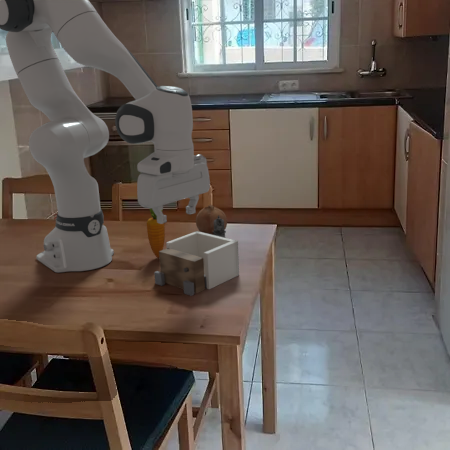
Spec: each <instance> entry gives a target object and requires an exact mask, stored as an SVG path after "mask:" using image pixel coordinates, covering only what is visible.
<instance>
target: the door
mask: <svg viewBox="0 0 450 450" xmlns="http://www.w3.org/2000/svg"><path fill="white" fill-rule="evenodd" d="M158 259H159V270H160V271H159V272H162V273H164V280H165V284H168V285H169V286H173V287H176V288H179V289H182V290H184V285H183V281H186V280H187V281H190V282H193V283H194V294H198V293H200V292H202V291H204V290H206V288H205V280H204V261H203V258H202V257H198V256H195V255H191V254H188V253H184V252H180V251H177V250H173V249H170V248H167V247H166V248H163V250H161V251H159V258H158Z"/></svg>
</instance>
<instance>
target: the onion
mask: <svg viewBox="0 0 450 450" xmlns="http://www.w3.org/2000/svg"><path fill="white" fill-rule="evenodd" d="M218 216H220V219H223V220H224V230H225V231H226V228H227V227H228V226H227V224H228V219H227V215H226V214H225V212H224V211H223V210H222V209H220V208H218V207H217V206H214V205H212V204H211V203H210V204H209V205H208V206H205V207H203V208H202V209H201V210H199V212H198V213H197V215H196V217H195V225H196V228H197V231H199V232H203V233H207V234H211V235H214V234H213V231H214V220H216V219H217V218H218Z"/></svg>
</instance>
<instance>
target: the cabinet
mask: <svg viewBox="0 0 450 450" xmlns="http://www.w3.org/2000/svg"><path fill="white" fill-rule="evenodd" d="M165 244H166V245H165V246H166V249H167V248H170V249H173V250H177V251H180V252H184V253H188V254H191V255H195V256H198V257H202V258H203V261H204V280H205V290H211V289H213V288H215V287H217V286H219V285H221V284H223V283H226V282H228V281H229V280H231V279H234V278H236V277H238V276H240V267H239V265H240V262H239V260H240V259H239V257H240V256H239V241H238V240H235V239H230V238H228V237H225V238H223V237H219V236H215V235H211V234H207V233H203V232H200V231H199V230H196V231H193V232H191V233H188V234H186V235H183V236H180V237H177V238H174V239H172V240H169V241H167V242H165ZM153 273H154V274H153V275H154V282H155V285H159V286H161V287H163V286H165V285H166V283H165V280H164V273H162V272H160V271H158V270H156V271H154V272H153ZM183 285H184V289H183V294H185V295H187V296H190V297H192V296H194V295H195V293H194V283H193V282H190V281H187V280H186V281H183Z"/></svg>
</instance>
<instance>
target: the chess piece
mask: <svg viewBox="0 0 450 450" xmlns="http://www.w3.org/2000/svg"><path fill="white" fill-rule="evenodd" d="M226 233H227V231H226V229H225V230H224V220H223V219H220V216H218V218H217V219H216V220H214V231H213V234H214V235H215V236H219V237H223V238H226Z"/></svg>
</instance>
